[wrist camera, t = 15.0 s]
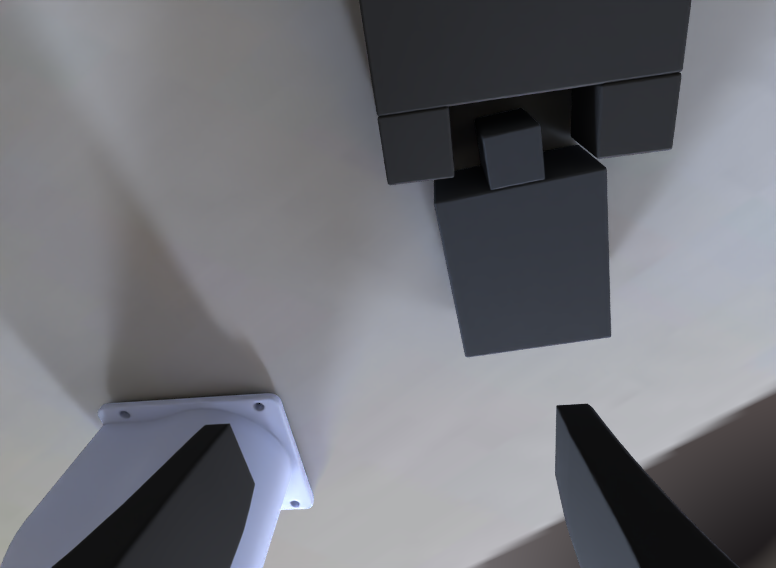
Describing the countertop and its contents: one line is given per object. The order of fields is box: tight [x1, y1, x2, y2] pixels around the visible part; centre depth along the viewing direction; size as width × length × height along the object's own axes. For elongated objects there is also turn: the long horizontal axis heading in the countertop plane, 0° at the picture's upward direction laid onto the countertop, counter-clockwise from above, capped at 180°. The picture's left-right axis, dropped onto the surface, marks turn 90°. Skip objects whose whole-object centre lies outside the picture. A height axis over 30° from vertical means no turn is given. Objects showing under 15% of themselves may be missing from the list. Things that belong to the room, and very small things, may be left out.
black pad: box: [359, 0, 691, 185], centre depth 13 cm, size 8×8×3 cm
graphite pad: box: [434, 108, 611, 357], centre depth 16 cm, size 5×8×3 cm, turn 14°
